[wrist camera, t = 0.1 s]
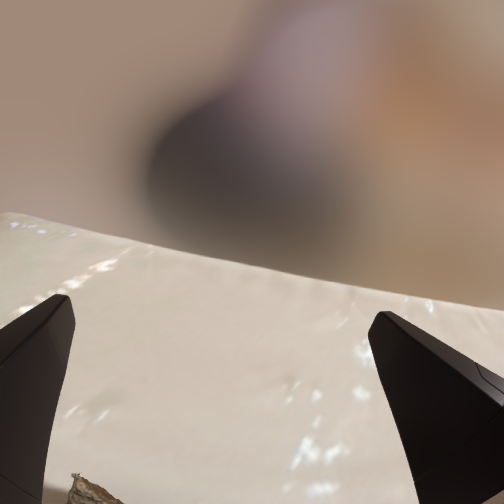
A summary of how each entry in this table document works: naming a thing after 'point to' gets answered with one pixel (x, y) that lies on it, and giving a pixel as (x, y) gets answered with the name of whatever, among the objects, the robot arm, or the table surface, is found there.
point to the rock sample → (89, 493)
